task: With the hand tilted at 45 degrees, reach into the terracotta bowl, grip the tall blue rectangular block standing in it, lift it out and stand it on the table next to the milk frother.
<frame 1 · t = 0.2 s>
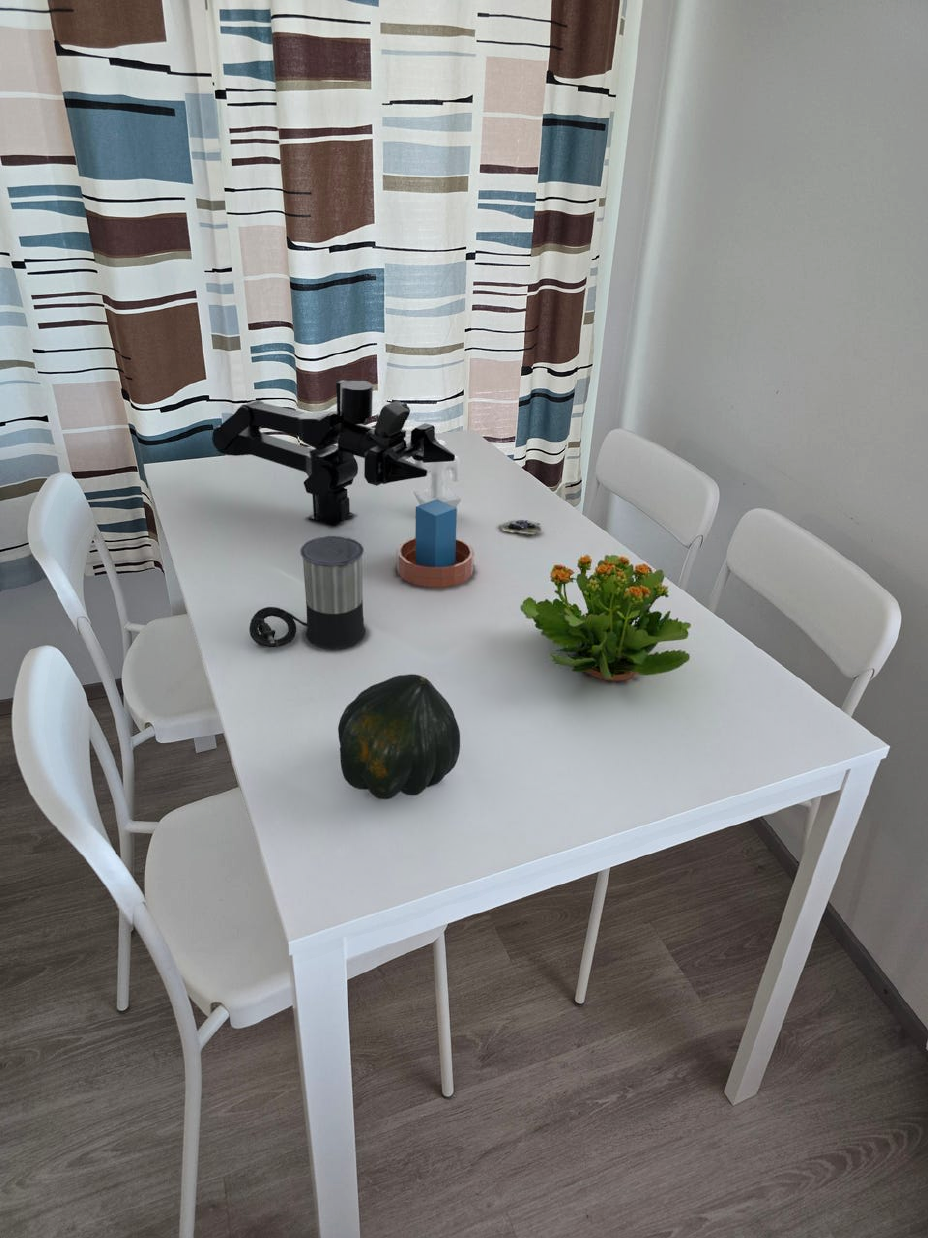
hand: (440, 465, 150), 17 cm above the table, tool horizontal, fingers open, 9 cm apart
milk frother: (309, 637, 132), on the table
blue rectangular block: (435, 569, 151), resting on terracotta bowl
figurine: (436, 513, 174), on the table
terracotta bowl: (435, 571, 152), on the table
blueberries: (520, 530, 168), on the table
potted flower: (614, 666, 128), on the table
squash: (399, 774, 106), on the table
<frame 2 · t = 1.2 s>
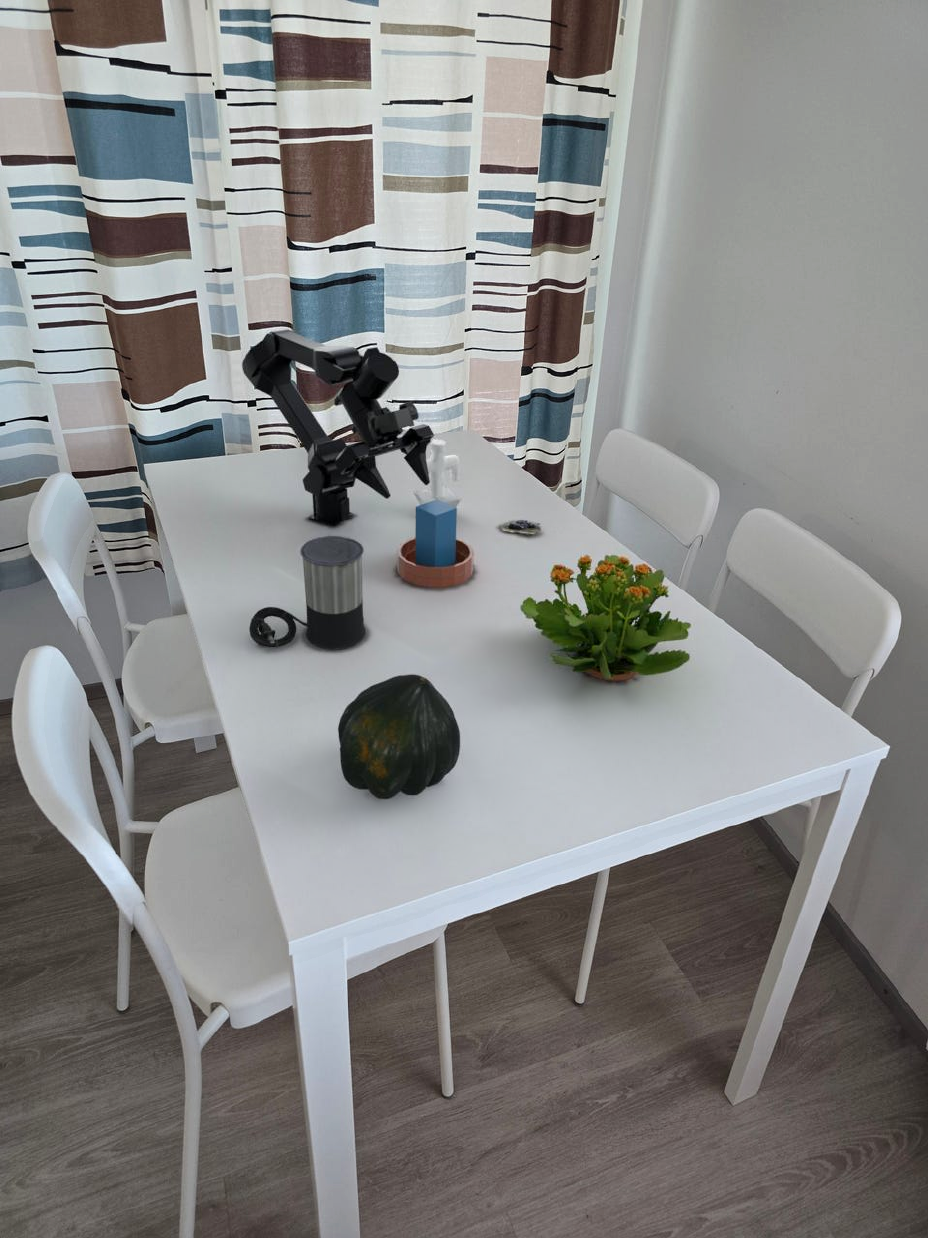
hand: (408, 490, 149), 13 cm above the table, tool tilted 45°, fingers open, 9 cm apart
nothing on the table moved.
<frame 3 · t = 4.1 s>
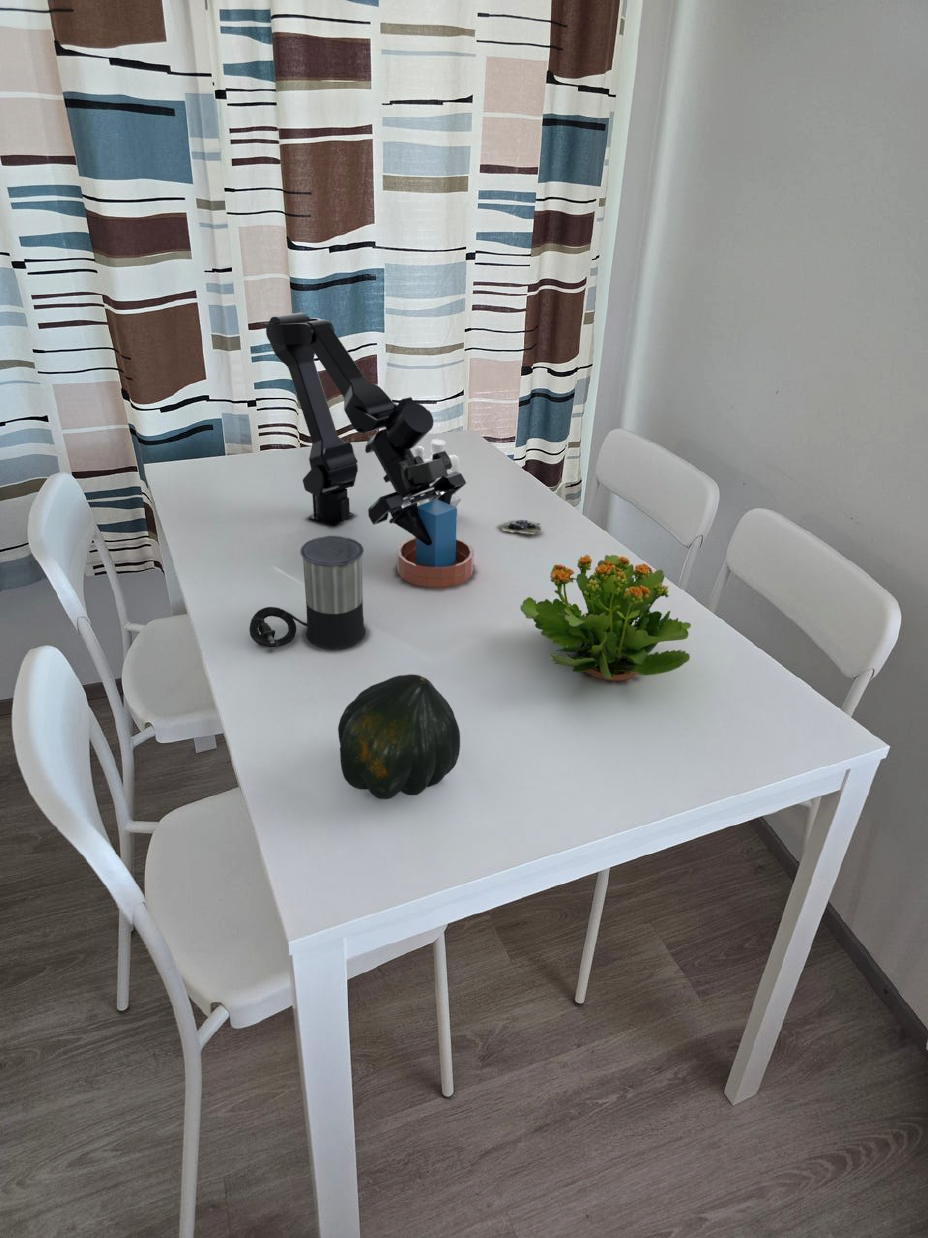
hand: (441, 540, 147), 7 cm above the table, tool tilted 45°, fingers closed on blue rectangular block, 5 cm apart
blue rectangular block: (435, 569, 151), resting on terracotta bowl, touching gripper
everything else where it was.
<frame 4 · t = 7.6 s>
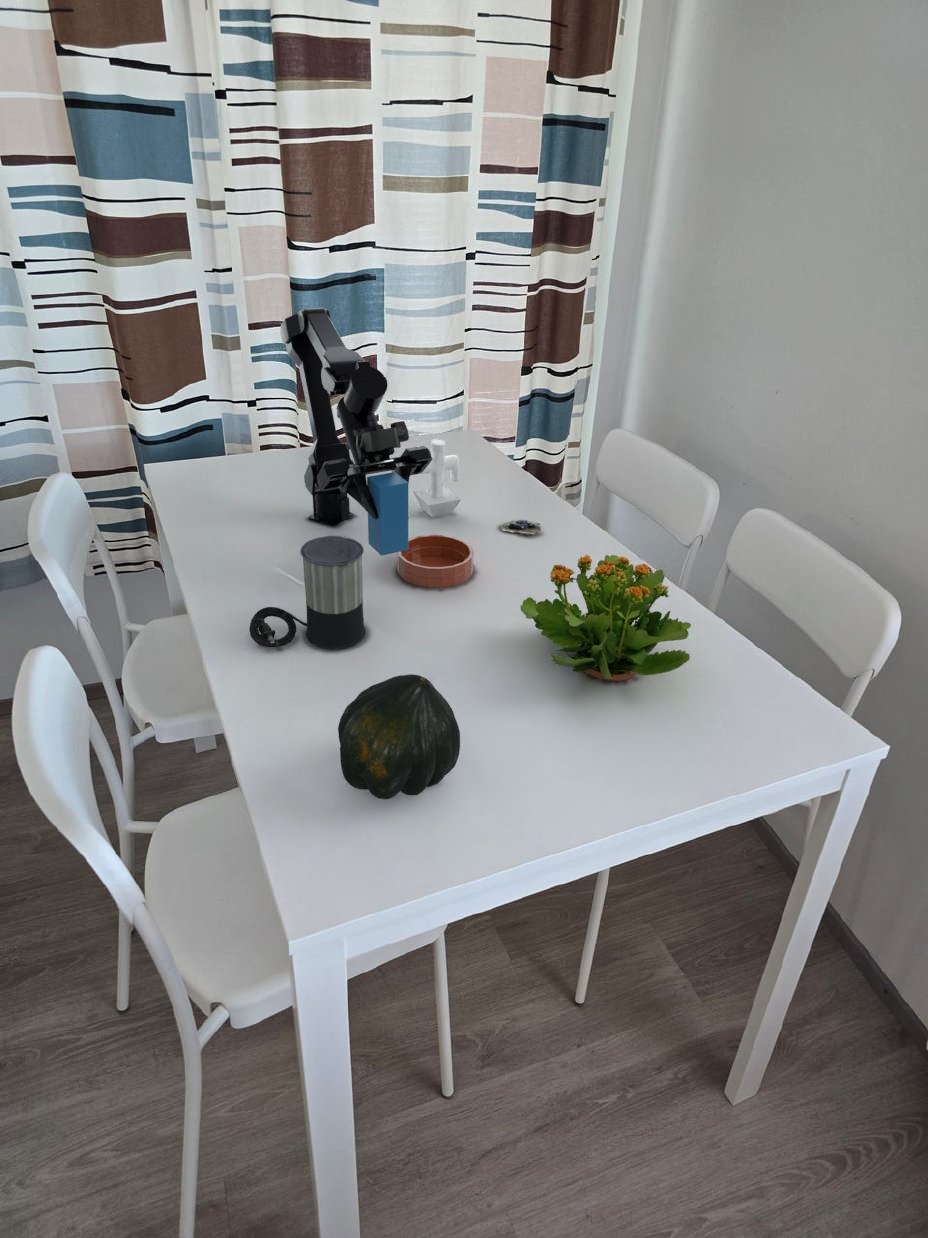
hand: (391, 515, 139), 13 cm above the table, tool tilted 45°, fingers closed on blue rectangular block, 5 cm apart
blue rectangular block: (388, 546, 143), point 7 cm above the table, touching gripper
everything else where it was.
when the fingers open (6 cm above the table, at t = 11.2 s): blue rectangular block stays where it is, on the table.
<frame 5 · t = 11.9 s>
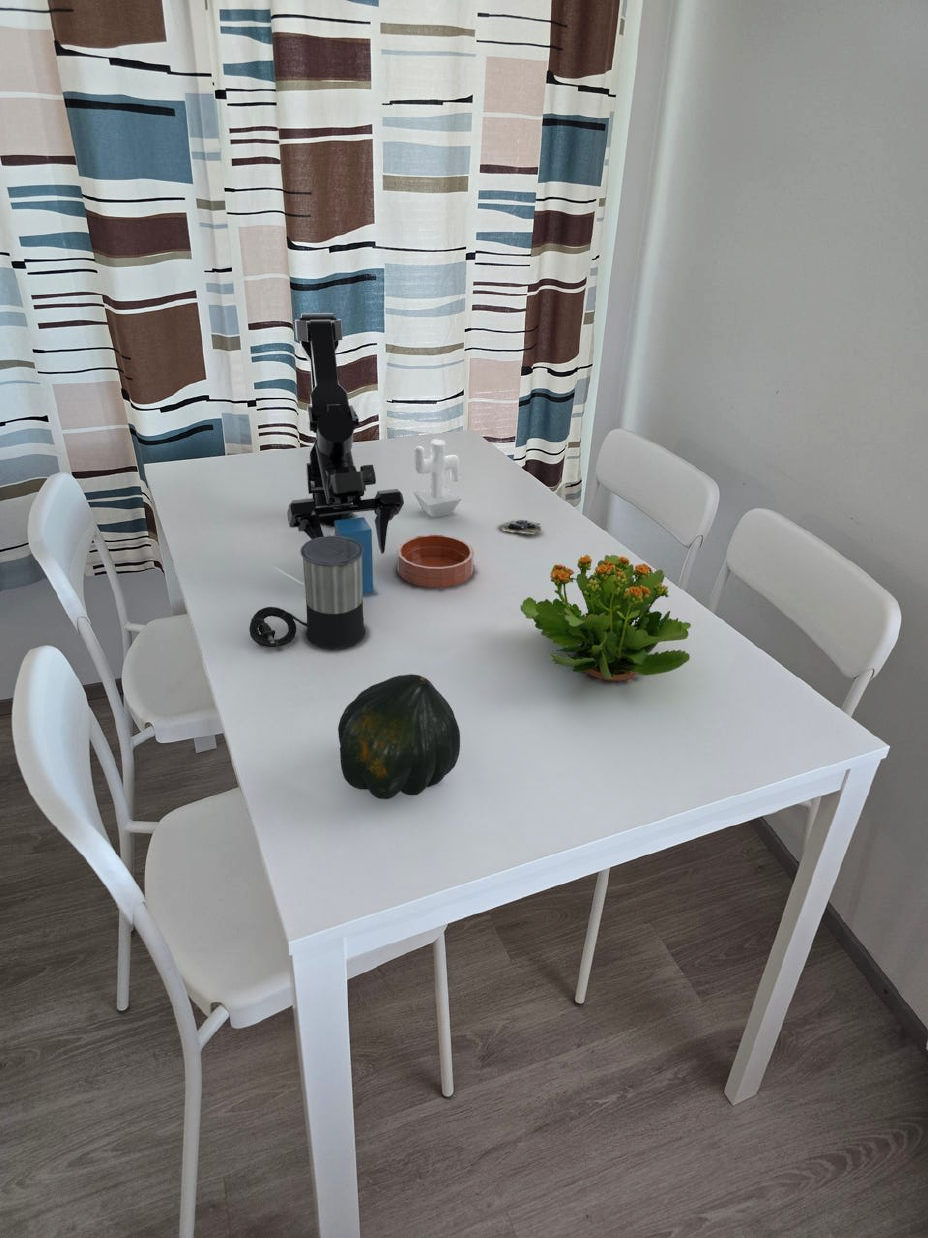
hand: (355, 556, 140), 7 cm above the table, tool tilted 45°, fingers open, 9 cm apart
blue rectangular block: (355, 589, 145), on the table
everything else where it was.
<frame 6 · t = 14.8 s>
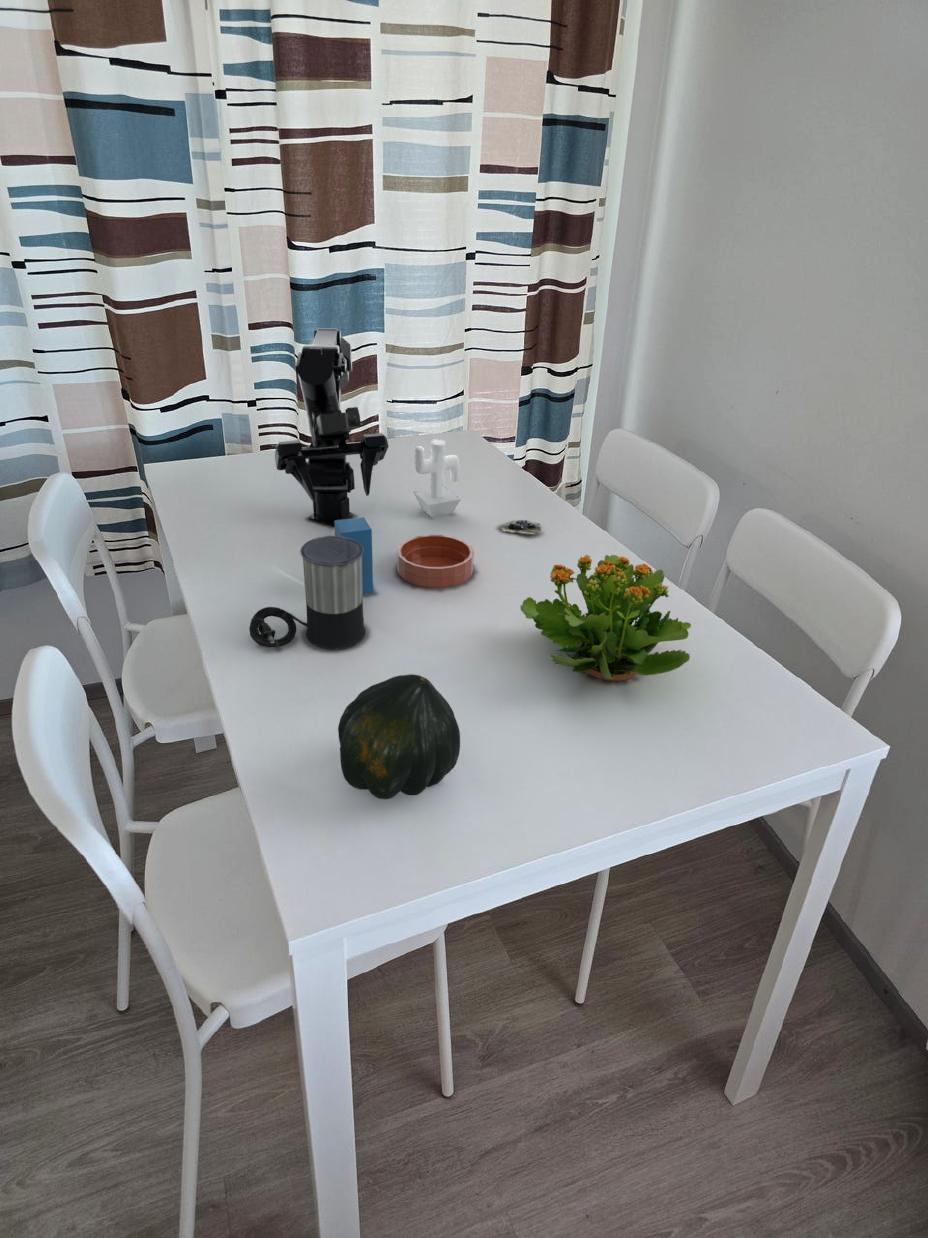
hand: (341, 497, 144), 14 cm above the table, tool tilted 45°, fingers open, 9 cm apart
nothing on the table moved.
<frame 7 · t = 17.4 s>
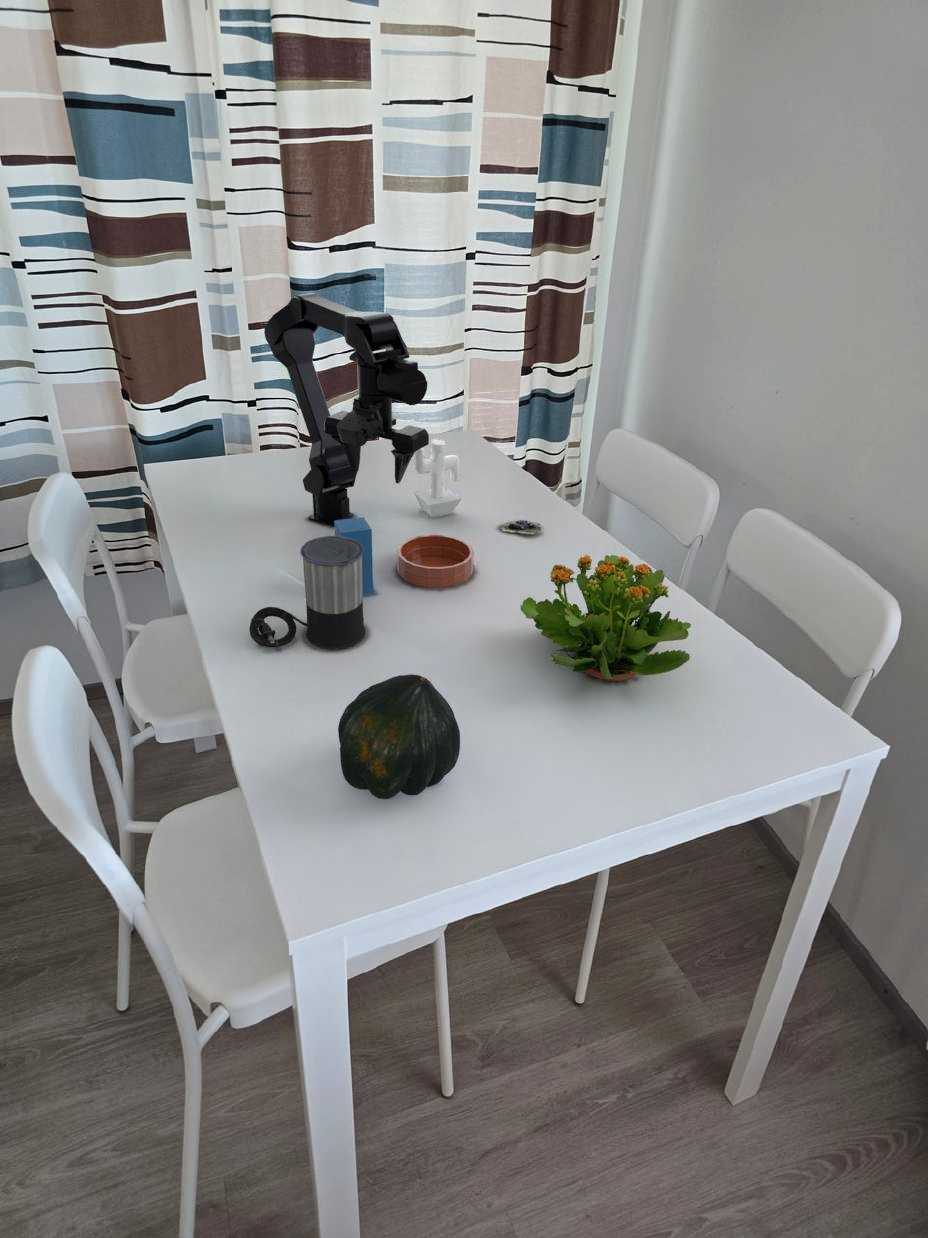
hand: (376, 477, 154), 13 cm above the table, tool pointing down, fingers open, 9 cm apart
nothing on the table moved.
at the end: blue rectangular block inside the target area (0.1 cm from its centre), on the table; blue rectangular block 16.2 cm from the milk frother (horizontally); blue rectangular block tilted 0° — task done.
